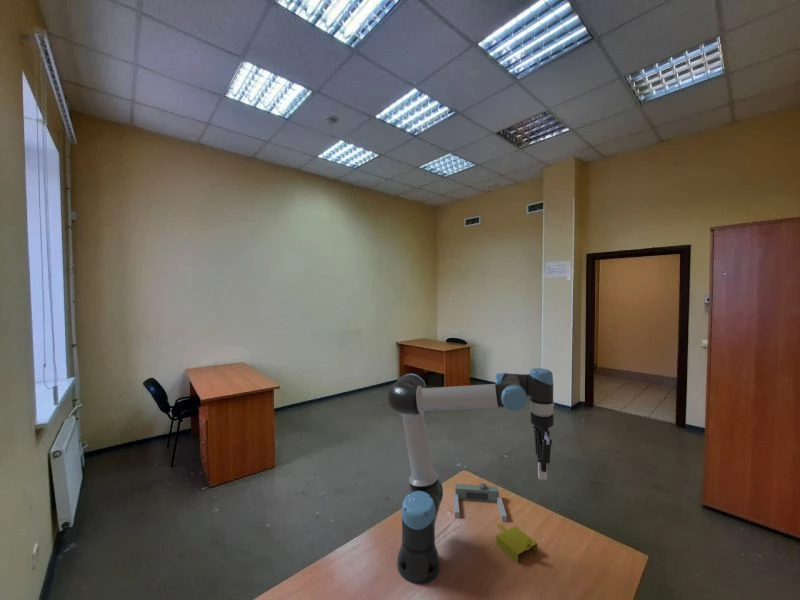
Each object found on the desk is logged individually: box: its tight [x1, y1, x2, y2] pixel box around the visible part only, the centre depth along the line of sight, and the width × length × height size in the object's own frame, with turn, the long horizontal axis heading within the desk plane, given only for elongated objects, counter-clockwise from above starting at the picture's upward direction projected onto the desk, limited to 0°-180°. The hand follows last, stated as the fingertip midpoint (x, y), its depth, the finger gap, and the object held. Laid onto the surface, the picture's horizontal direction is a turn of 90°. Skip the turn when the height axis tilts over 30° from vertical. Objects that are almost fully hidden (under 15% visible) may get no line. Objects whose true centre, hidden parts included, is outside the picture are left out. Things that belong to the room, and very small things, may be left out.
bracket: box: [495, 523, 538, 564], centre depth 127 cm, size 16×8×15 cm
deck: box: [453, 483, 508, 522], centre depth 151 cm, size 22×17×6 cm
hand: (542, 478), depth 117 cm, fingers closed
